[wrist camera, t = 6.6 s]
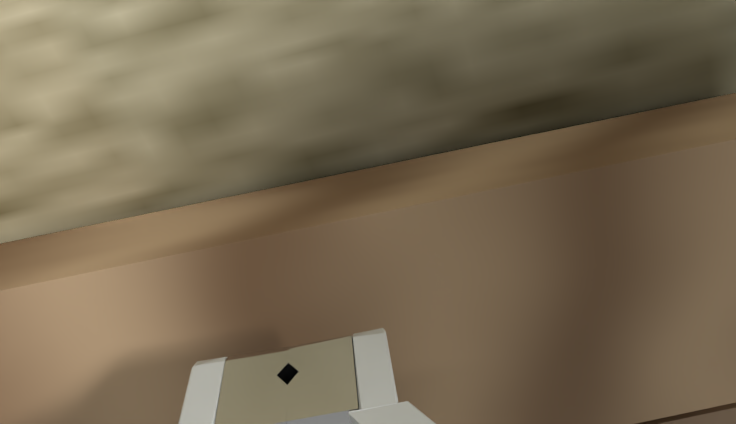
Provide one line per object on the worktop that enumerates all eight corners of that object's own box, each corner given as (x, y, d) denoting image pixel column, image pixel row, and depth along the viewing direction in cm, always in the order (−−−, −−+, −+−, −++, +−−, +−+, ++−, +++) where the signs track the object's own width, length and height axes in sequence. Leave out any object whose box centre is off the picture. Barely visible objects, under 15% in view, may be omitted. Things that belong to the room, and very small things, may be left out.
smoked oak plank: (734, 92, 13) (802, 125, 11) (705, 343, 17) (754, 398, 15) (-197, 284, 13) (-274, 347, 11) (-35, 498, 16) (-75, 572, 15)
